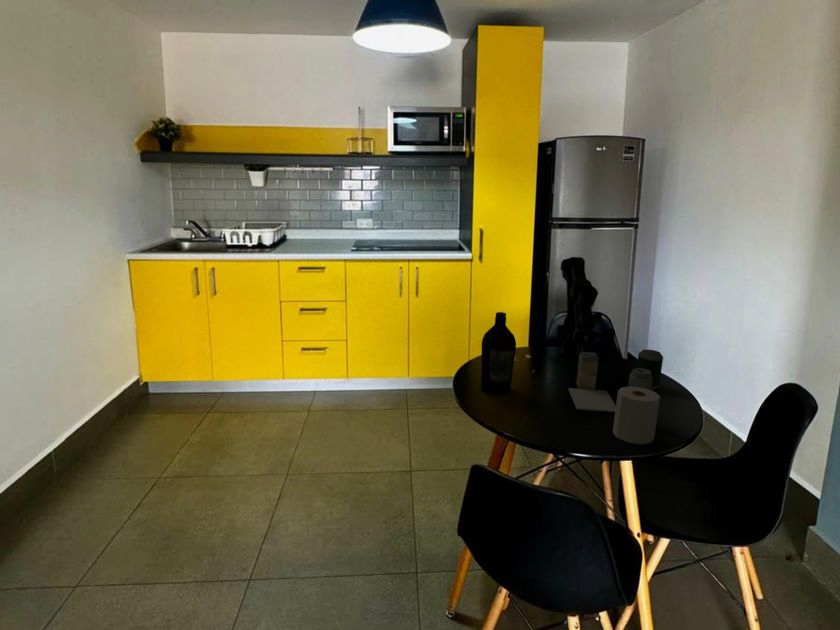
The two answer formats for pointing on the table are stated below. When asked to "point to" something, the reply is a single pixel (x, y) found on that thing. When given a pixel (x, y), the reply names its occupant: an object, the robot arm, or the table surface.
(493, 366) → the olive oil
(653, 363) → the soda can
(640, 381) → the energy drink can
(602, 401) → the rubber mat
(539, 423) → the table surface
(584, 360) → the birch block
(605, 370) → the table surface
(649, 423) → the toilet paper
